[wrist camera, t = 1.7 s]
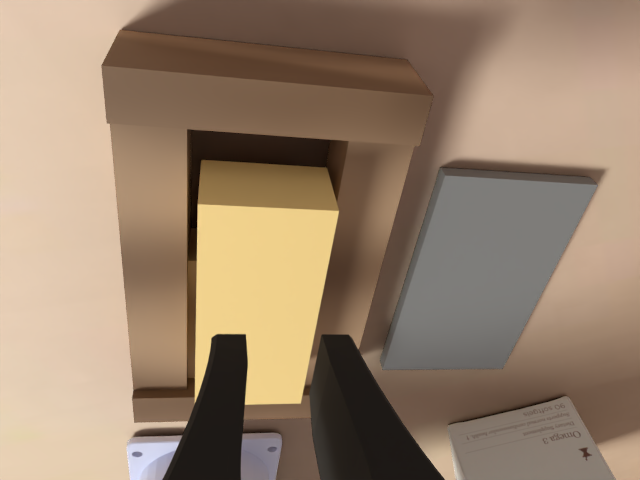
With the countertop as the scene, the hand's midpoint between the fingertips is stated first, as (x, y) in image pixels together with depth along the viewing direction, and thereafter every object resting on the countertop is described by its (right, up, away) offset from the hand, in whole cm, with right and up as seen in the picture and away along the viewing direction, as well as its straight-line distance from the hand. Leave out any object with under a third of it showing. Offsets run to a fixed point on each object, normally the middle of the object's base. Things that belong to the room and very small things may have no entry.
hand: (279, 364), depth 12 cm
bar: (-1, +2, +8) cm, 8 cm away
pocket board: (-2, +3, +9) cm, 10 cm away
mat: (+8, +1, +12) cm, 15 cm away
